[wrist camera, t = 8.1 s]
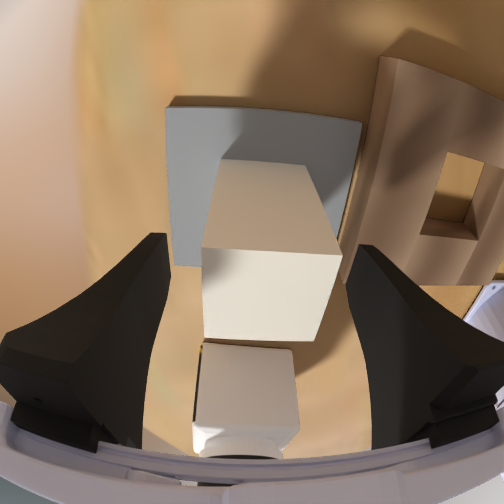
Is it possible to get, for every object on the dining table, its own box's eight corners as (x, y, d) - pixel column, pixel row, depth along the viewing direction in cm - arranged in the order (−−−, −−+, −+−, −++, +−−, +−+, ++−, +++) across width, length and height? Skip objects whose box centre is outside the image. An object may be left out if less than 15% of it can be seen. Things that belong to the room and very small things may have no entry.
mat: (359, 121, 13) (362, 123, 13) (325, 267, 19) (327, 273, 18) (168, 106, 13) (165, 108, 13) (175, 260, 18) (174, 265, 18)
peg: (305, 165, 14) (342, 255, 9) (293, 235, 17) (313, 341, 11) (220, 158, 14) (201, 247, 9) (218, 230, 17) (204, 337, 11)
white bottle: (201, 339, 23) (186, 495, 13) (293, 347, 24) (307, 497, 14) (199, 383, 27) (189, 505, 18) (274, 389, 28) (280, 508, 18)
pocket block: (532, 119, 12) (552, 130, 10) (476, 267, 19) (488, 285, 18) (379, 55, 11) (398, 58, 10) (335, 261, 19) (342, 283, 17)
